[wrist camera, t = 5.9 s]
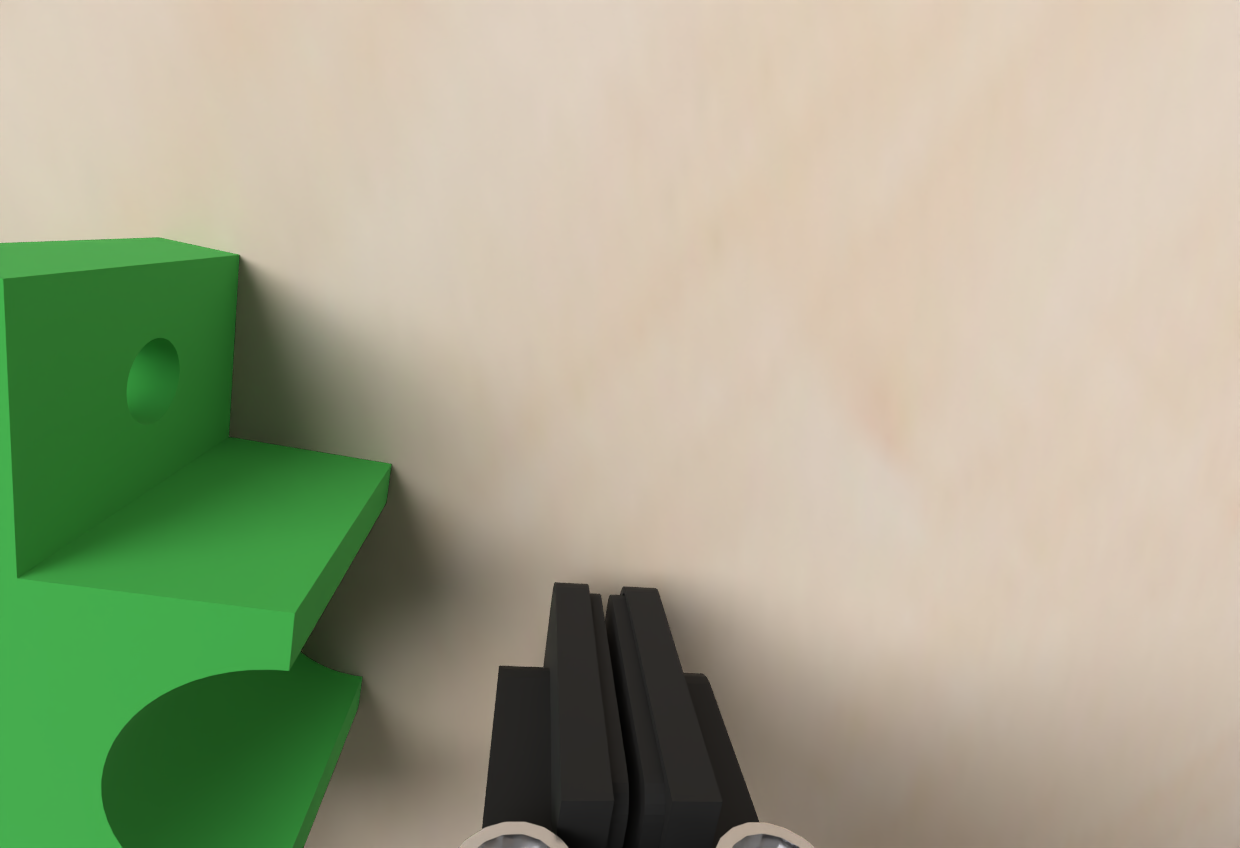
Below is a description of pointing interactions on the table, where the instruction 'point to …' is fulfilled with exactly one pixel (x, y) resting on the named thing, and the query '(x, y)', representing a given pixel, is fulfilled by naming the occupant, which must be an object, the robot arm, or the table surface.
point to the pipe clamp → (158, 564)
